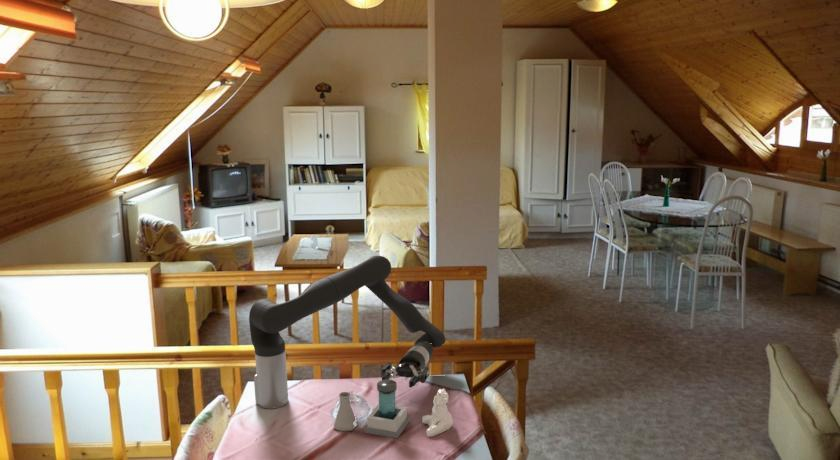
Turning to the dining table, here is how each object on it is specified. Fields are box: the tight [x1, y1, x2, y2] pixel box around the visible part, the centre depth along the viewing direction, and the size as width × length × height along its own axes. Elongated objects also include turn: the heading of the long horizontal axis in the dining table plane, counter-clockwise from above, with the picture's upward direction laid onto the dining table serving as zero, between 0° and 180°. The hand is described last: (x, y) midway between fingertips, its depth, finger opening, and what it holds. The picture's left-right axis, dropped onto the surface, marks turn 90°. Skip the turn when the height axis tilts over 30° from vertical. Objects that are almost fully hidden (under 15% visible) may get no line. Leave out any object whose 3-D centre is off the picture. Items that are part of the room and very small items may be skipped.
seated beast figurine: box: [421, 387, 454, 438], centre depth 182 cm, size 10×9×12 cm
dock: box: [364, 403, 410, 439], centre depth 183 cm, size 10×10×4 cm
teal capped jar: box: [376, 379, 398, 420], centre depth 182 cm, size 6×6×12 cm
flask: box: [333, 391, 356, 432], centre depth 184 cm, size 7×7×10 cm
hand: (396, 382), depth 189 cm, fingers open, 8 cm apart
